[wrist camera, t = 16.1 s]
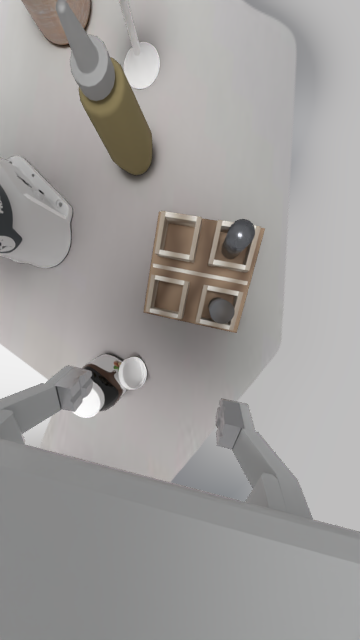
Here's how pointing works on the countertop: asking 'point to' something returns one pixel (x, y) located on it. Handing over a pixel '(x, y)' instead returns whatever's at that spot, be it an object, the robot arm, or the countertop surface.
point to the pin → (237, 238)
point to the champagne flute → (139, 55)
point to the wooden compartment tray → (198, 272)
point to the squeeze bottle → (107, 96)
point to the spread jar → (111, 382)
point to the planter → (55, 17)
